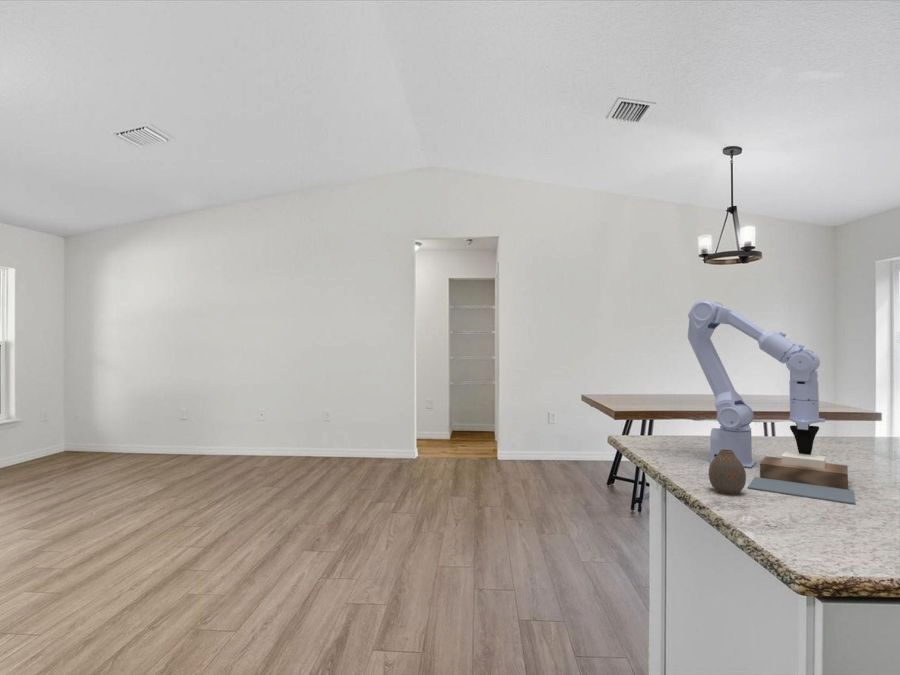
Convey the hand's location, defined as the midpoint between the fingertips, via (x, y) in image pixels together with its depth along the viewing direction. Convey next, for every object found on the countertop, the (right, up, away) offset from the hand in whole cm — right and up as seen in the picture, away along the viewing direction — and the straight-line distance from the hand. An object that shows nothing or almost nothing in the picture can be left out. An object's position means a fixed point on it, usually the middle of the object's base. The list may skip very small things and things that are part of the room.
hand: (805, 455), depth 119 cm
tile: (-4, -1, -5) cm, 6 cm away
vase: (-27, -4, -15) cm, 32 cm away
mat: (-11, -4, -14) cm, 18 cm away
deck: (-4, -4, -6) cm, 8 cm away
